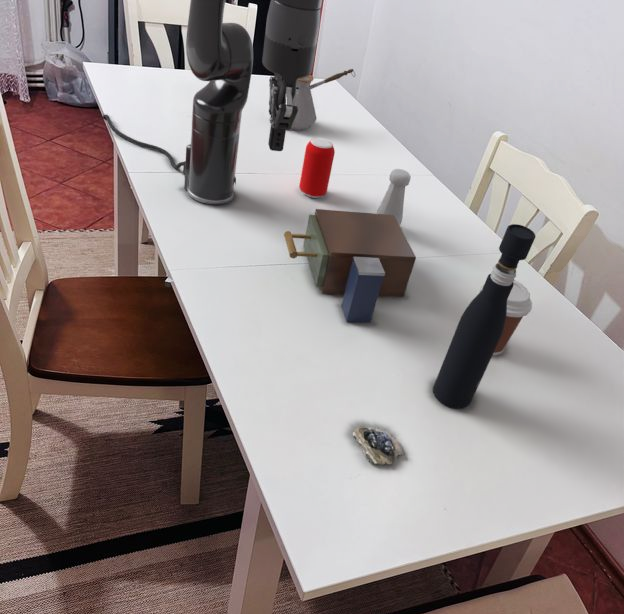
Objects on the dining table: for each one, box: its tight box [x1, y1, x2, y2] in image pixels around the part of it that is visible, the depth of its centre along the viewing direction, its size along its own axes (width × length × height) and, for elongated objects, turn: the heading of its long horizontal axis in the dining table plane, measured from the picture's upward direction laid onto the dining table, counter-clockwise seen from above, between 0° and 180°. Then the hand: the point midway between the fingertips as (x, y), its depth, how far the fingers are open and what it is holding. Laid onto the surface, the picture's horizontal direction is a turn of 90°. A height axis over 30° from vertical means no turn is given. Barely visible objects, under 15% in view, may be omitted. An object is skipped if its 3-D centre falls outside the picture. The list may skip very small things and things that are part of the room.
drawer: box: [283, 214, 329, 288], centre depth 122 cm, size 20×14×7 cm
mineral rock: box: [352, 425, 405, 466], centre depth 92 cm, size 7×8×2 cm
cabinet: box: [314, 208, 417, 298], centre depth 123 cm, size 16×15×9 cm
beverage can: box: [299, 137, 336, 199], centre depth 143 cm, size 6×6×12 cm
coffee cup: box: [479, 279, 533, 356], centre depth 113 cm, size 9×9×12 cm
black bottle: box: [432, 223, 536, 410], centre depth 95 cm, size 6×6×30 cm
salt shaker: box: [375, 168, 412, 226], centre depth 138 cm, size 6×6×13 cm
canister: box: [340, 257, 385, 323], centre depth 112 cm, size 4×4×10 cm
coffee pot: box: [290, 68, 356, 132], centre depth 172 cm, size 21×12×15 cm, turn 120°
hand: (275, 148), depth 106 cm, fingers closed
